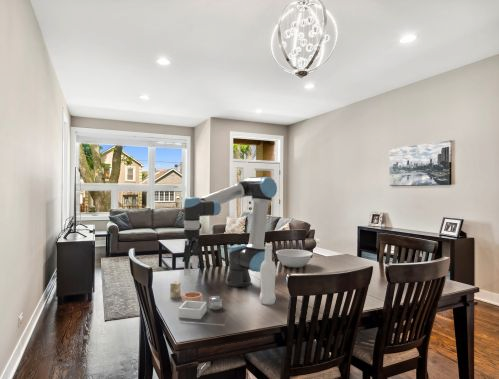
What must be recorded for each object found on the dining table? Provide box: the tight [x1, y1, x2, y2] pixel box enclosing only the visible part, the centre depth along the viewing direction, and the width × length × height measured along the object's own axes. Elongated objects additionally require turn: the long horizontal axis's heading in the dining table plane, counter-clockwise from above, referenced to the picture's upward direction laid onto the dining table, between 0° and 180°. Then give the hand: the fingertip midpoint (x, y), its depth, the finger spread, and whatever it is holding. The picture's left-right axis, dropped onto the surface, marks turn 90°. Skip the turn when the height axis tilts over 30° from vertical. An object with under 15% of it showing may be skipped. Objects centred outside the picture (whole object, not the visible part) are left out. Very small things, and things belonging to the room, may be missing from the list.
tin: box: [208, 295, 223, 311], centre depth 161 cm, size 6×6×5 cm
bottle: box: [259, 242, 277, 306], centre depth 171 cm, size 8×8×30 cm
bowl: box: [275, 248, 314, 269], centre depth 250 cm, size 27×27×10 cm
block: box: [169, 281, 181, 299], centre depth 175 cm, size 4×4×8 cm
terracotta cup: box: [181, 291, 203, 305], centre depth 165 cm, size 9×9×6 cm
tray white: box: [178, 301, 208, 320], centre depth 153 cm, size 10×10×5 cm
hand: (191, 271), depth 166 cm, fingers open, 13 cm apart
